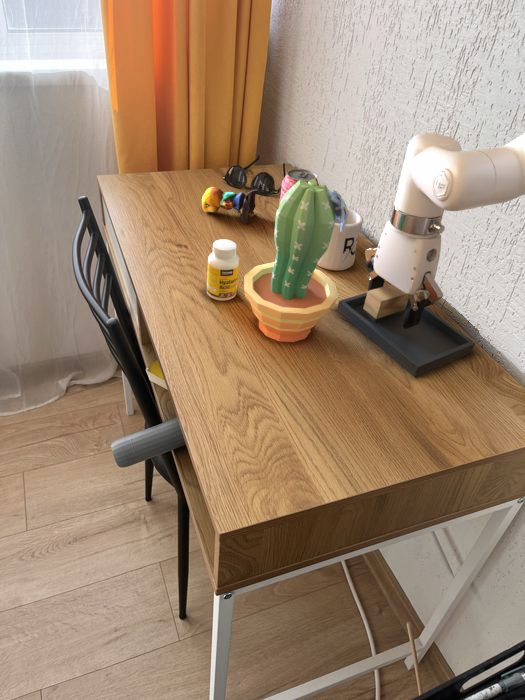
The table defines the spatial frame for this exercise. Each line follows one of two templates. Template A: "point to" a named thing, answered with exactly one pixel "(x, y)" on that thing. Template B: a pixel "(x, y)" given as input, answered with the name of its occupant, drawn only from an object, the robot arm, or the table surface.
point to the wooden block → (385, 303)
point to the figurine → (229, 202)
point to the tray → (410, 337)
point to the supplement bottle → (222, 270)
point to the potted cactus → (297, 264)
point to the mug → (342, 243)
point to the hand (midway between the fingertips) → (390, 312)
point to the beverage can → (296, 179)
